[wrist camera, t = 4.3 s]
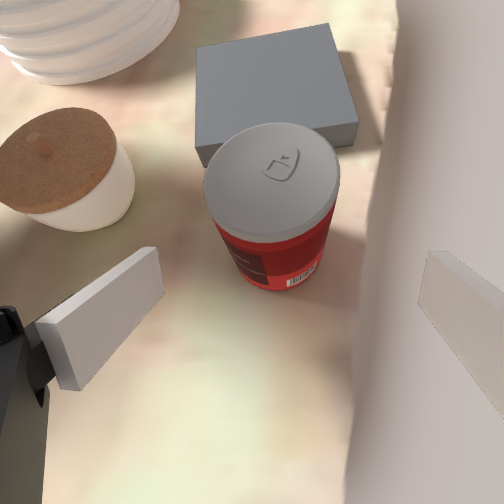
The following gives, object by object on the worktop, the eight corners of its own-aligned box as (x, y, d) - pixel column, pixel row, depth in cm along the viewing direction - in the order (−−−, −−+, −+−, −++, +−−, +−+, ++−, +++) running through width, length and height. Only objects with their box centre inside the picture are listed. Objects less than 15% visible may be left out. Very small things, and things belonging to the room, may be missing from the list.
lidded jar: (97, 154, 33) (31, 79, 25) (170, 179, 30) (123, 103, 22) (38, 228, 30) (-62, 171, 21) (114, 263, 27) (33, 214, 19)
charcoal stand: (203, 167, 30) (194, 146, 28) (203, 71, 37) (196, 47, 34) (352, 145, 29) (359, 121, 26) (325, 49, 35) (328, 22, 33)
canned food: (329, 222, 26) (353, 128, 16) (310, 304, 23) (324, 253, 13) (251, 207, 28) (228, 113, 18) (225, 281, 25) (180, 221, 15)
